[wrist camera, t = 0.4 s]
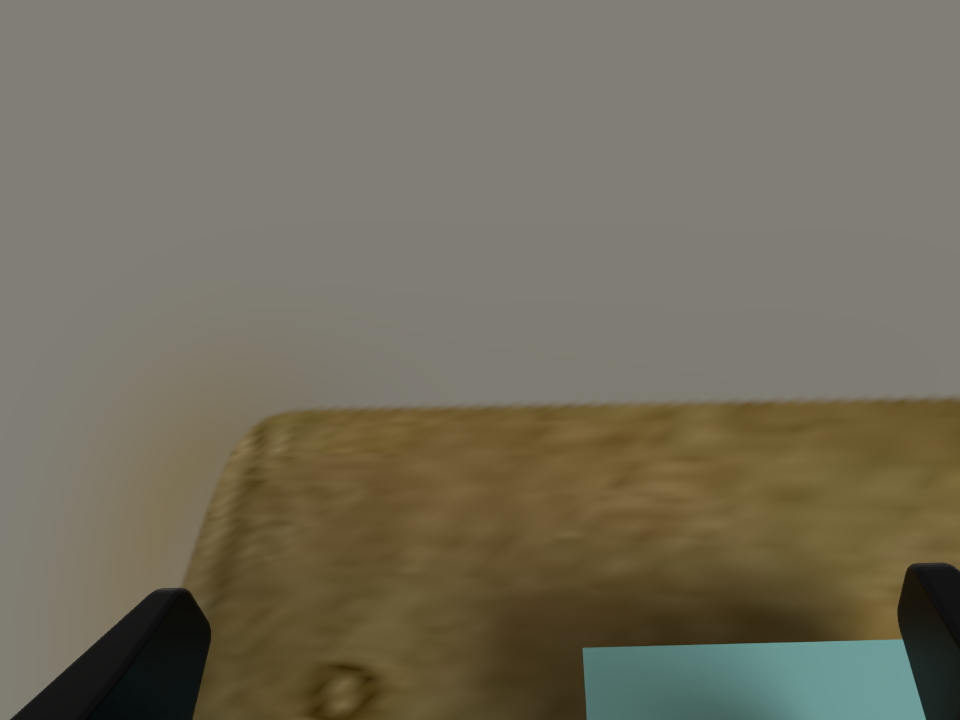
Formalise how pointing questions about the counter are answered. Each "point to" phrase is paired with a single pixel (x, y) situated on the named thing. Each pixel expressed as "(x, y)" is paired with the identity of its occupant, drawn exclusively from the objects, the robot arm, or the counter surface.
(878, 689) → the lid
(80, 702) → the robot arm
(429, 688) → the counter surface
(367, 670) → the counter surface
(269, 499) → the counter surface
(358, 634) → the counter surface
